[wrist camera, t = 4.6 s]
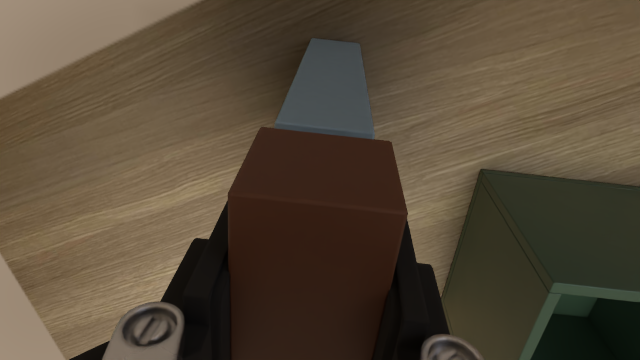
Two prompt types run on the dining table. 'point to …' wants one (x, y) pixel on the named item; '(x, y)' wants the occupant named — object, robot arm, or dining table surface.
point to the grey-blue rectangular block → (329, 92)
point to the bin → (547, 270)
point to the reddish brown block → (312, 246)
